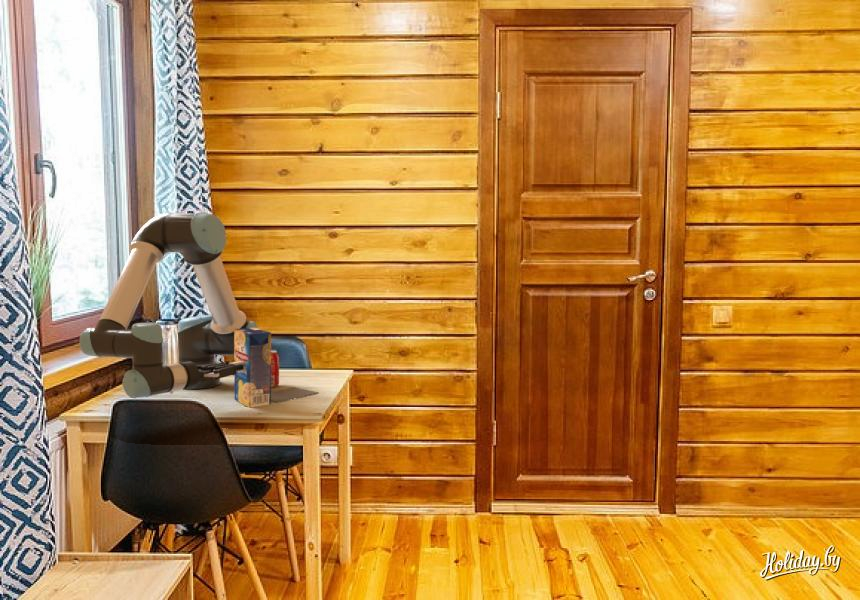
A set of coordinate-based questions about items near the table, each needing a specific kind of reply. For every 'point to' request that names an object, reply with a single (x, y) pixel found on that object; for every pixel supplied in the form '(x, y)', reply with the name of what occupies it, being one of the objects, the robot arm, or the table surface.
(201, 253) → the robot arm
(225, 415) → the table surface
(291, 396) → the mat
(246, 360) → the cardboard food box
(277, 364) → the soda can
